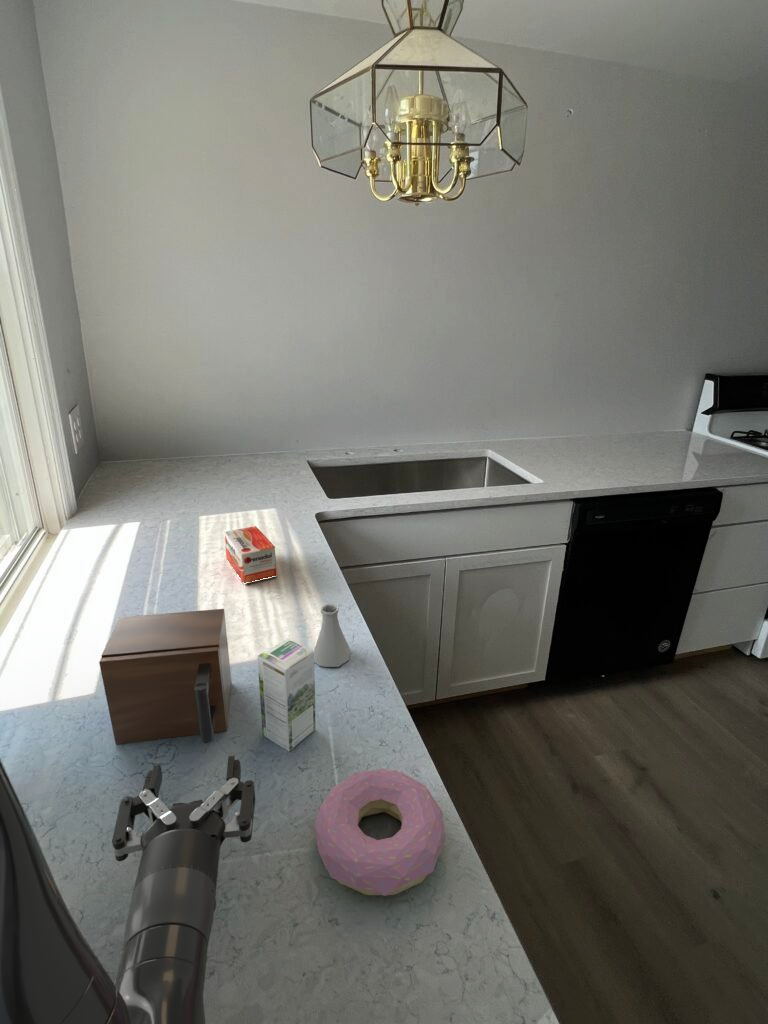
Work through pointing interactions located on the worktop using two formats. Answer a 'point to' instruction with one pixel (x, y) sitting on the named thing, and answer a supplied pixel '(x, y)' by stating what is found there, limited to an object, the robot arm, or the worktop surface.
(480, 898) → the worktop surface
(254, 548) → the medicine box
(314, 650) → the flask
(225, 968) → the worktop surface
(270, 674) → the syrup box
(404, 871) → the donut
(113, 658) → the door
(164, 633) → the cabinet
